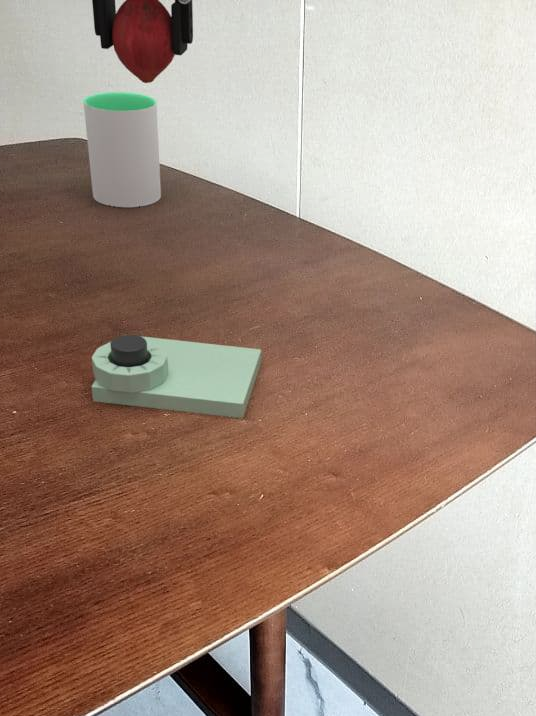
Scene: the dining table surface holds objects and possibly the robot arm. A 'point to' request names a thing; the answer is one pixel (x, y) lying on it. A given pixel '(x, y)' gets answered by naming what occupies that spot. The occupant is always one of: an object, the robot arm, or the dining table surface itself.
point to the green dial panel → (180, 377)
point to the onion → (143, 38)
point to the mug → (123, 148)
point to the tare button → (129, 351)
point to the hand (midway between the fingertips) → (144, 46)
